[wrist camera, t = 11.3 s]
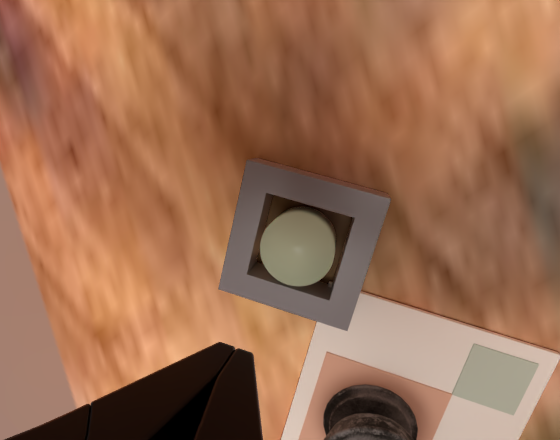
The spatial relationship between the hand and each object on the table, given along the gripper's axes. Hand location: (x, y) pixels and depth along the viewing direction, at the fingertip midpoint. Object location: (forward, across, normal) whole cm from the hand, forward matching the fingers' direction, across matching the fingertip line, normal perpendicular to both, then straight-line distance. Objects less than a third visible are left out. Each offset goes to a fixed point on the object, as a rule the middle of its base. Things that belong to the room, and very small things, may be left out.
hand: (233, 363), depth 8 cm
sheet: (+12, -8, +8) cm, 16 cm away
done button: (+11, 0, 0) cm, 11 cm away
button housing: (+12, 0, 0) cm, 12 cm away
